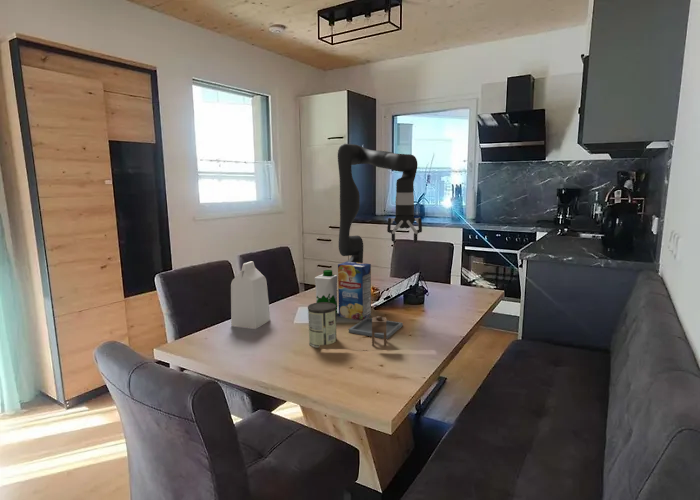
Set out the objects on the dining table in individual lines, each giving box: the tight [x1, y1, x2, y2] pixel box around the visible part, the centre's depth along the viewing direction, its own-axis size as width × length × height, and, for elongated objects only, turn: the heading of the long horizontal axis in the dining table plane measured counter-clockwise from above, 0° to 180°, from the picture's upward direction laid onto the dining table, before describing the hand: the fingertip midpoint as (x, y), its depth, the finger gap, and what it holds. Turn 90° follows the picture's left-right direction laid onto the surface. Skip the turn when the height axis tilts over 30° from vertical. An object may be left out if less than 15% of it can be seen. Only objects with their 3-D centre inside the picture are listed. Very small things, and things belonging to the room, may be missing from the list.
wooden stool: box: [371, 315, 387, 347], centre depth 151 cm, size 5×5×11 cm
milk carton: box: [314, 269, 338, 314], centre depth 185 cm, size 9×9×20 cm
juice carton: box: [337, 261, 372, 321], centre depth 181 cm, size 12×8×24 cm, turn 60°
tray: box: [348, 317, 404, 340], centre depth 166 cm, size 16×16×2 cm
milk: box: [230, 260, 271, 330], centre depth 177 cm, size 12×12×26 cm
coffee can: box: [307, 302, 337, 349], centre depth 154 cm, size 10×10×14 cm
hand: (404, 242), depth 177 cm, fingers open, 8 cm apart
